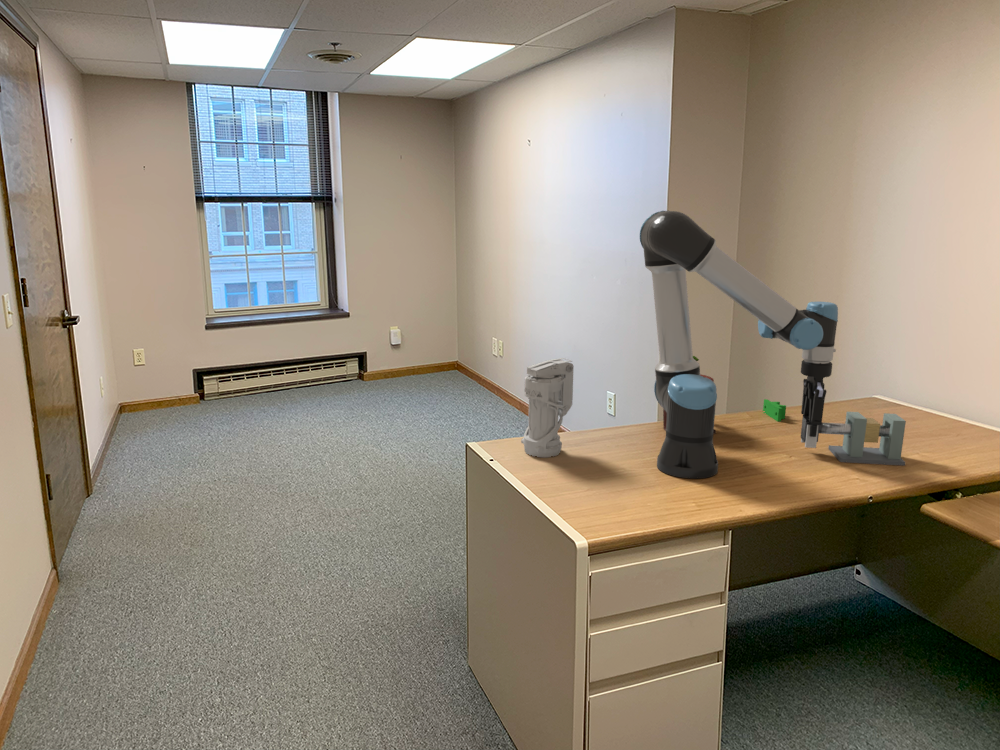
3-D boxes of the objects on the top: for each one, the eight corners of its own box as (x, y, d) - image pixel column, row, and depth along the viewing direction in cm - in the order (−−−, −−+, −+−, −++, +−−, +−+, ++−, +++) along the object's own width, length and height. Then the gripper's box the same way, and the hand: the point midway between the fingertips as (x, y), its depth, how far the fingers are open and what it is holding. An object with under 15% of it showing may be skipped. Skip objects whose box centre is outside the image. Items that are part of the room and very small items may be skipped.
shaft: (884, 441, 196) (887, 420, 194) (889, 445, 192) (892, 424, 191) (800, 437, 199) (802, 416, 197) (803, 441, 195) (806, 420, 194)
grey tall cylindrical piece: (536, 460, 191) (538, 367, 185) (516, 448, 200) (517, 360, 194) (576, 452, 197) (579, 362, 191) (556, 442, 206) (558, 355, 200)
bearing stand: (889, 452, 200) (894, 411, 197) (904, 465, 189) (910, 423, 186) (828, 448, 202) (832, 409, 199) (840, 462, 191) (845, 420, 189)
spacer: (870, 436, 197) (872, 418, 196) (877, 442, 191) (880, 423, 190) (856, 435, 197) (858, 417, 196) (863, 442, 192) (865, 423, 191)
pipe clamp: (789, 422, 228) (790, 408, 227) (777, 422, 228) (778, 408, 227) (773, 412, 239) (775, 398, 238) (762, 412, 239) (763, 398, 238)
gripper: (841, 367, 183) (831, 455, 188) (823, 354, 199) (814, 436, 205) (810, 366, 184) (801, 454, 190) (794, 354, 200) (786, 434, 206)
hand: (808, 444), depth 197 cm, fingers closed on shaft, 4 cm apart
